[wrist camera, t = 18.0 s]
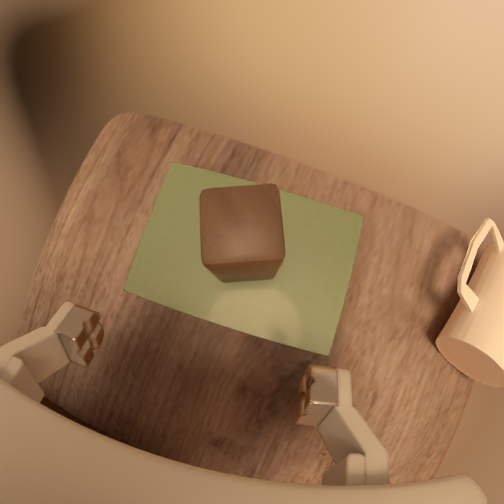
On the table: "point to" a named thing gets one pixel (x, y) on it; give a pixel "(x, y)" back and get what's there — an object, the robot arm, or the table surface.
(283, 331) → the board
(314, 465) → the table surface
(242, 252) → the wooden block
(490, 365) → the cup
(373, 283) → the table surface
